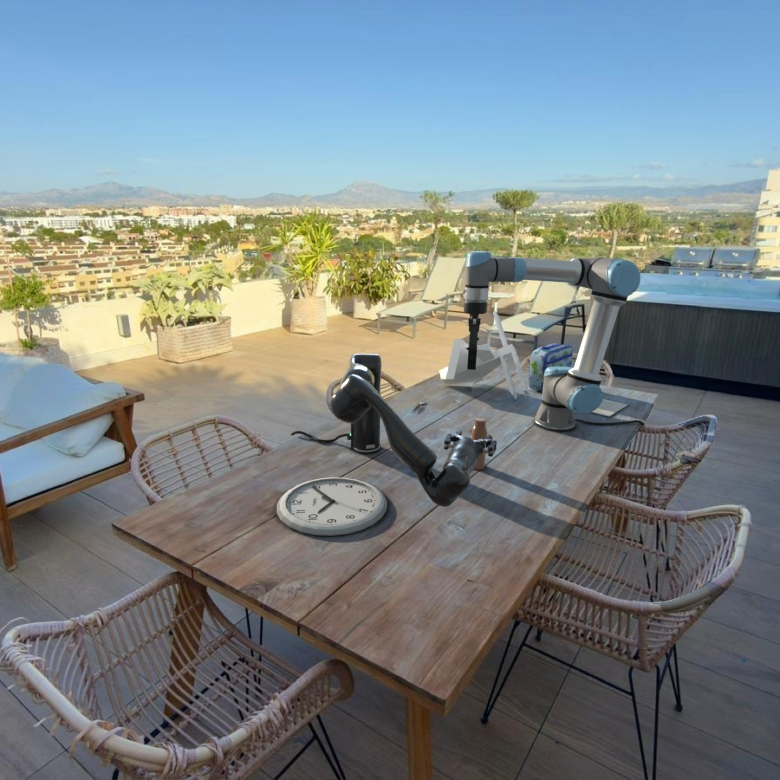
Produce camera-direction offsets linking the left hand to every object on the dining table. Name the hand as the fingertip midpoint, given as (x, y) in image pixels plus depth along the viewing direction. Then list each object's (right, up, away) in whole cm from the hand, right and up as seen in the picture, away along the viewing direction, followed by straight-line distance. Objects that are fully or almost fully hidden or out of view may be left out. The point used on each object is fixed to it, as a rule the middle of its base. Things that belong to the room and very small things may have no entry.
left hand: (475, 435), depth 154 cm
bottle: (+3, -11, +14) cm, 18 cm away
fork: (-13, +6, +69) cm, 70 cm away
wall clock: (-41, -18, -11) cm, 46 cm away
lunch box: (+51, +14, +98) cm, 112 cm away
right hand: (+2, +22, +22) cm, 31 cm away
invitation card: (+66, +6, +72) cm, 98 cm away
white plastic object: (+17, +12, +89) cm, 92 cm away
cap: (+2, -4, +30) cm, 30 cm away
